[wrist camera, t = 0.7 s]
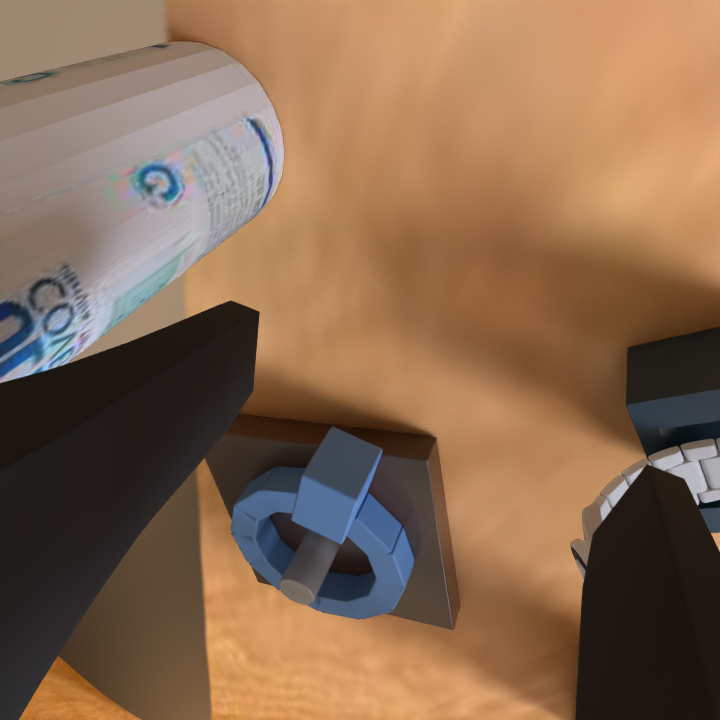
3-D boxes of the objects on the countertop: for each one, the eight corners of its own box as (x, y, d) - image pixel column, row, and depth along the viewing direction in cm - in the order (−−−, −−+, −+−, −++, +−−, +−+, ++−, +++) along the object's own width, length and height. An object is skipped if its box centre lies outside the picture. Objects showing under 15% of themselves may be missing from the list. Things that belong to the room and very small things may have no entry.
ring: (386, 614, 32) (367, 666, 29) (240, 541, 33) (211, 586, 31) (457, 481, 24) (438, 539, 22) (263, 393, 25) (225, 439, 23)
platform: (461, 606, 31) (436, 698, 28) (269, 562, 36) (226, 635, 32) (436, 436, 25) (401, 526, 21) (208, 410, 30) (146, 479, 26)
